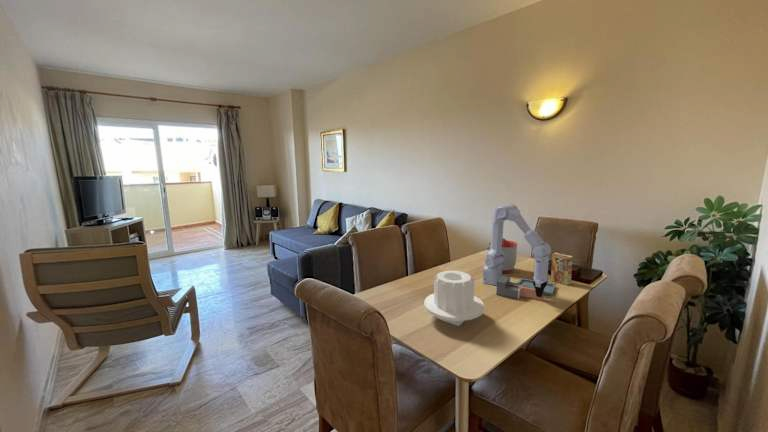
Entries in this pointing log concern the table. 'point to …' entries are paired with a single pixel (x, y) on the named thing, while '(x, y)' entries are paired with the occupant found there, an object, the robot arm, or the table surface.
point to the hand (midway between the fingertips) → (539, 296)
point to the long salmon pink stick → (529, 293)
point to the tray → (529, 284)
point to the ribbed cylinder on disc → (454, 298)
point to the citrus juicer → (508, 255)
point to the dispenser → (508, 288)
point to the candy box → (561, 268)
